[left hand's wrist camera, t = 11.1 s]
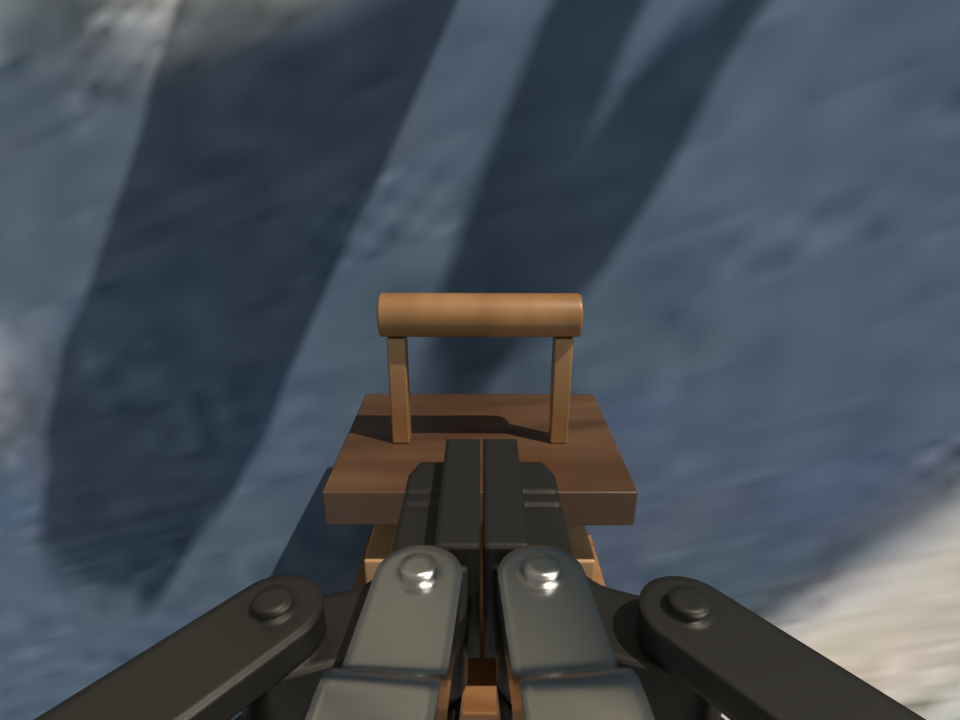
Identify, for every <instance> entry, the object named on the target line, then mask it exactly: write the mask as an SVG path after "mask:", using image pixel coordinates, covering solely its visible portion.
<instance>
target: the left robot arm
mask: <svg viewBox="0 0 960 720" xmlns="http://www.w3.org/2000/svg"><path fill="white" fill-rule="evenodd" d="M483 617H484V658H496V707H497V716H498V720H725V719H724V718H722V717H721V714H724V715H725V716H726V717H728V718H729V719H730V720H926V719H924V718H922V717H921V716H919V715H918V714H916V713H914V712H913V711H911V710H910V709H908V708H906V707H905V706H903V705H902V704H900V703H898V702H897V701H895V700H893V699H892V698H890V697H889V696H887V695H885V694H884V693H882V692H881V691H879V690H877V689H876V688H874V687H873V686H871V685H869V684H868V683H866V682H864V681H863V680H861V679H860V678H858V677H856V676H855V675H853V674H852V673H850V672H848V671H847V670H845V669H844V668H842V667H840V666H839V665H837V664H835V663H834V662H832V661H831V660H829V659H827V658H826V657H824V656H823V655H821V654H819V653H818V652H816V651H815V650H813V649H811V648H810V647H808V646H807V645H805V644H803V643H802V642H800V641H798V640H797V639H795V638H794V637H792V636H790V635H789V634H787V633H786V632H784V631H782V630H781V629H779V628H778V627H776V626H774V625H773V624H771V623H769V622H768V621H766V620H765V619H763V618H761V617H760V616H758V615H757V614H755V613H753V612H752V611H750V610H749V609H747V608H745V607H744V606H742V605H740V604H739V603H737V602H736V601H734V600H732V599H731V598H729V597H728V596H726V595H724V594H723V593H721V592H720V591H718V590H716V589H715V588H713V587H711V586H709V585H707V584H705V583H703V582H700V581H698V580H695V579H691V578H686V577H679V576H667V577H661V578H658V579H655V580H653V581H651V582H649V583H648V584H647V585H646V586H645V587H644V588H643V589H642V591H641V593H640V596H638V595H633V594H629V593H625V592H621V591H617V590H614V589H610V588H607V587H605V586H603V585H600V584H598V583H597V582H595V581H593V580H592V579H590V578H589V577H587V576H586V574H585V571H584V569H583V567H582V565H581V564H580V563H579V561H578V560H577V559H576V558H574V557H573V555H572V551H571V546H570V542H569V537H568V533H567V528H566V524H565V519H564V515H563V511H562V507H561V502H560V497H559V494H558V488H557V484H556V479H555V475H554V474H553V473H552V472H551V471H550V470H549V469H548V468H547V467H546V466H545V465H544V464H543V463H542V462H519V454H518V446H517V439H483ZM468 658H480V439H446V446H445V455H444V462H421V463H420V464H419V465H418V466H417V467H416V468H415V469H414V470H413V471H412V472H411V473H410V474H409V475H408V480H407V484H406V489H405V494H404V498H403V503H402V508H401V512H400V517H399V522H398V527H397V531H396V536H395V541H394V545H393V550H392V553H391V554H390V555H388V556H387V557H386V558H384V559H383V560H382V561H381V563H380V564H379V565H378V567H377V569H376V571H375V574H374V577H373V580H371V581H370V582H368V583H366V584H364V585H362V586H360V587H357V588H355V589H351V590H348V591H344V592H340V593H336V594H332V595H328V596H323V595H322V592H321V589H320V588H319V586H318V585H317V584H316V583H315V582H313V581H312V580H310V579H308V578H305V577H302V576H297V575H279V576H274V577H270V578H266V579H263V580H261V581H258V582H256V583H254V584H252V585H250V586H249V587H247V588H245V589H244V590H242V591H240V592H239V593H237V594H236V595H234V596H232V597H231V598H229V599H228V600H226V601H224V602H223V603H221V604H220V605H218V606H216V607H215V608H213V609H211V610H210V611H208V612H207V613H205V614H203V615H202V616H200V617H199V618H197V619H195V620H194V621H192V622H191V623H189V624H187V625H186V626H184V627H183V628H181V629H179V630H178V631H176V632H174V633H173V634H171V635H170V636H168V637H166V638H165V639H163V640H162V641H160V642H158V643H157V644H155V645H154V646H152V647H150V648H149V649H147V650H145V651H144V652H142V653H141V654H139V655H137V656H136V657H134V658H133V659H131V660H129V661H128V662H126V663H125V664H123V665H121V666H120V667H118V668H116V669H115V670H113V671H112V672H110V673H108V674H107V675H105V676H104V677H102V678H100V679H99V680H97V681H96V682H94V683H92V684H91V685H89V686H87V687H86V688H84V689H83V690H81V691H79V692H78V693H76V694H75V695H73V696H71V697H70V698H68V699H67V700H65V701H63V702H62V703H60V704H58V705H57V706H55V707H54V708H52V709H50V710H49V711H47V712H46V713H44V714H42V715H41V716H39V717H38V718H36V719H34V720H230V719H231V718H232V717H234V716H235V715H236V714H238V713H239V712H240V711H241V710H242V712H243V714H242V715H240V716H239V717H238V718H236V719H235V720H462V716H463V707H464V690H465V688H466V685H467V679H468Z"/></svg>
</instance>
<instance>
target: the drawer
mask: <svg viewBox="0 0 960 720" xmlns="http://www.w3.org/2000/svg"><path fill="white" fill-rule="evenodd" d="M377 326H378V331H379V334H380V336H382V337H388V338H387V355H388V373H389V390H390V394H366V396H365V398H364V400H363V402H362V405H361V407H360V409H359V411H358V414H357V416H356V418H355V420H354V422H353V425H352V427H351V429H350V431H349V434H348V436H347V438H346V440H345V442H344V445H343V447H342V449H341V451H340V454H339V456H338V458H337V460H336V462H335V465H334V467H333V469H332V471H331V474H330V476H329V478H328V480H327V482H326V485H325V487H324V489H323V491H322V497H323V506H324V515H325V523H326V525H374V527H373V530H372V534H371V538H370V541H369V545H368V548H367V552H366V556H365V559H364V568H365V580H366V583H368V582H370V581H371V580H373V577H374V574H375V571H376V569H377V567H378V565H379V564H380V563H381V561H382V560H383V559H384V558H386V557H387V556H388V555H390V554H391V553H392V550H393V545H394V541H395V536H396V531H397V527H398V522H399V517H400V512H401V508H402V503H403V498H404V494H405V489H406V484H407V480H408V475H409V474H410V473H411V472H412V471H413V470H414V469H415V468H416V467H417V466H418V465H419V464H420V463H421V462H444V455H445V446H446V439H480V658H468V679H467V685H466V686H496V658H484V617H483V439H517V446H518V454H519V462H542V463H543V464H544V465H545V466H546V467H547V468H548V469H549V470H550V471H551V472H552V473H553V474H554V475H555V479H556V484H557V488H558V494H559V497H560V502H561V507H562V511H563V515H564V519H565V524H566V528H567V533H568V537H569V542H570V546H571V551H572V555H573V557H574V558H576V559H577V560H578V561H579V563H580V564H581V565H582V567H583V569H584V571H585V574H586V576H587V577H589V578H590V579H592V580H593V581H594V571H595V559H594V555H593V551H592V548H591V544H590V541H589V537H588V533H587V530H586V526H585V525H634V521H635V512H636V503H637V494H638V493H637V490H636V488H635V486H634V484H633V481H632V479H631V477H630V475H629V472H628V470H627V468H626V466H625V464H624V461H623V459H622V457H621V455H620V452H619V450H618V448H617V446H616V443H615V441H614V439H613V437H612V435H611V432H610V430H609V428H608V426H607V423H606V421H605V419H604V417H603V414H602V412H601V410H600V408H599V406H598V403H597V401H596V399H595V397H594V395H593V394H570V389H571V373H572V356H573V338H572V337H578V336H580V334H581V332H582V327H583V301H582V297H581V295H580V294H578V293H381V294H380V295H379V297H378V302H377ZM407 337H553V347H552V367H551V388H550V394H410V391H409V369H408V346H407Z"/></svg>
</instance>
